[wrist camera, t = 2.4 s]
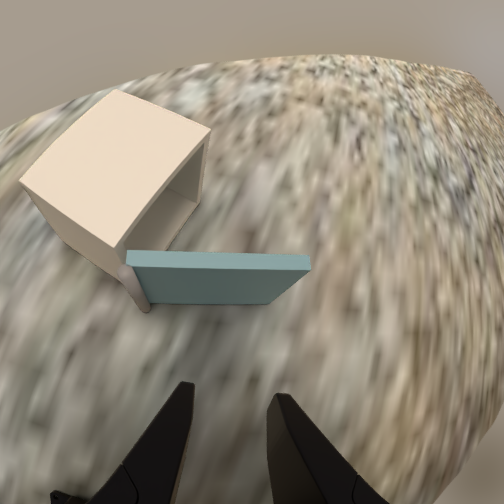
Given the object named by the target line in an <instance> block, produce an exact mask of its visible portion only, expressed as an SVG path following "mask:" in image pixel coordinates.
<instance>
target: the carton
mask: <svg viewBox="0 0 504 504" xmlns="http://www.w3.org/2000/svg"><path fill="white" fill-rule="evenodd" d="M210 133H211V129H209V128H207V127H205V126H203V125H200V124H198V123H196V122H194V121H192V120H189V119H187V118H185V117H183V116H180V115H178V114H176V113H174V112H171V111H169V110H167V109H164V108H162V107H160V106H157V105H155V104H152V103H150V102H147V101H145V100H142V99H140V98H137V97H135V96H132V95H130V94H127V93H124V92H122V91H119V90H116V89H114V90H113V91H112V92H110V93H109V94H108V95H106V96H105V97H104V98H103V99H101V100H100V101H99V102H98V103H97V104H95V105H94V106H93V107H92V108H91V109H89V110H88V111H87V112H86V113H85V114H84V115H82V116H81V117H80V118H79V119H78V120H77V121H76V122H75V123H74V124H72V125H71V126H70V127H69V128H68V129H67V130H66V131H65V132H64V133H63V134H62V135H61V136H60V137H59V138H58V139H57V140H56V141H55V142H54V143H53V144H52V145H51V146H50V147H49V148H48V149H47V150H46V151H45V152H44V153H43V154H42V155H41V156H40V157H39V158H38V159H37V160H36V162H35V163H34V164H33V165H32V166H31V167H30V168H29V169H28V170H27V172H26V173H25V174H24V175H23V176H22V177H21V179H20V180H19V181H20V183H21V184H22V186H23V187H24V189H25V190H26V192H27V193H28V195H29V196H30V198H31V199H32V201H33V202H34V203H35V205H36V206H37V208H38V209H39V211H40V212H41V213H42V215H43V216H44V217H45V219H46V220H47V221H48V223H49V224H50V225H51V227H52V228H53V229H54V231H55V232H56V233H57V235H58V236H59V237H60V238H61V240H62V241H64V242H65V243H66V244H68V245H69V246H70V247H72V248H73V249H74V250H76V251H77V252H78V253H80V254H81V255H83V256H84V257H85V258H87V259H88V260H90V261H91V262H92V263H94V264H95V265H97V266H98V267H99V268H101V269H102V270H104V271H105V272H107V273H108V274H110V275H111V276H113V277H114V278H116V279H117V280H119V281H120V279H119V277H118V276H117V270H118V268H119V267H120V266H121V265H123V264H126V257H127V250H148V251H166V250H167V248H168V247H169V245H170V244H171V243H172V241H173V240H174V238H175V237H176V235H177V234H178V232H179V231H180V230H181V228H182V227H183V225H184V224H185V222H186V221H187V220H188V218H189V217H190V215H191V214H192V213H193V211H194V210H195V208H196V207H197V206H198V204H199V203H200V198H201V191H202V184H203V177H204V170H205V164H206V157H207V151H208V145H209V139H210ZM120 282H121V281H120Z"/></svg>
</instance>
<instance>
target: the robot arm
mask: <svg viewBox="0 0 504 504" xmlns="http://www.w3.org/2000/svg"><path fill="white" fill-rule="evenodd" d="M194 395H195V384H194V383H190V382H184V381H182V382H180V383H179V384H178V386H177V387H176V388H175V390H174V391H173V393H172V394H171V395H170V397H169V398H168V400H167V401H166V402H165V404H164V405H163V407H162V408H161V409H160V411H159V412H158V414H157V415H156V416H155V418H154V419H153V420H152V422H151V423H150V425H149V426H148V427H147V429H146V430H145V431H144V433H143V434H142V436H141V437H140V438H139V440H138V441H137V442H136V444H135V445H134V446H133V448H132V449H131V451H130V452H129V453H128V455H127V456H126V457H125V459H124V460H123V461H122V464H120V465H119V467H118V468H117V469H116V471H115V472H114V473H113V475H112V476H111V477H110V478H109V479H108V481H107V482H106V483H105V484H104V486H103V487H102V488H101V489H100V490H99V491H98V492H97V493H96V494H95V495H94V496H93V497H92V498H91V499H90V500H89V501H85V500H83V499H80V498H77V497H74V496H72V497H71V496H69V495H66V494H63V493H61V492H58V491H53V492H51V493H50V499H51V504H175V500H176V496H177V491H178V487H179V483H180V479H181V474H182V470H183V466H184V462H185V457H186V452H187V447H188V441H189V436H190V431H191V425H192V420H193V410H194ZM267 461H268V468H269V475H270V482H271V488H272V495H273V502H274V504H389V503H388V502H387V501H386V500H385V499H383V498H382V497H381V496H380V495H379V494H378V493H377V492H376V491H375V490H374V489H373V488H372V487H371V486H370V485H369V484H368V483H367V482H366V481H365V480H364V479H363V478H362V477H361V476H360V475H357V474H358V473H357V472H356V471H355V470H354V469H353V467H352V466H351V465H350V464H349V463H348V462H347V461H346V460H345V459H344V457H343V456H342V455H341V454H340V453H339V452H338V451H337V450H336V448H335V447H334V446H333V445H332V444H331V443H330V442H329V440H328V439H327V438H326V437H325V436H324V435H323V433H322V432H321V431H320V430H319V429H318V428H317V426H316V425H315V424H314V423H313V422H312V421H311V419H310V418H309V417H308V416H307V415H306V413H305V412H304V411H303V410H302V409H301V407H300V406H299V405H298V404H297V403H296V401H295V400H294V399H293V398H292V396H291V395H289V394H287V393H276V394H275V395H274V396H273V399H272V401H271V403H270V405H269V407H268V410H267ZM55 495H57V496H58V498H57V497H56V496H55Z"/></svg>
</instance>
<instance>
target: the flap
mask: <svg viewBox="0 0 504 504" xmlns="http://www.w3.org/2000/svg"><path fill="white" fill-rule="evenodd" d="M310 270H311V266H310V258H309V255H286V254H250V253H216V252H181V251H148V250H127V257H126V264H123V265H121V266H120V267H119V268H118V270H117V276H118V277H119V279H120V281H121V282H122V284H123V285H124V287H125V288H126V290H127V291H128V292H129V294H130V295H131V297H132V298H133V300H134V301H135V303H136V304H137V305H138V307H139V308H140V310H141V311H142V312H144V313H147V312H149V311H150V309H151V305H150V303H166V304H269V303H271V302H272V301H273V300H274V299H276V298H277V297H278V296H280V295H281V294H282V293H283V292H285V291H286V290H287V289H288V288H289V287H291V286H292V285H293V284H294V283H296V282H297V281H298V280H299V279H301V278H302V277H303V276H304V275H306V274H307V273H308V272H309V271H310Z"/></svg>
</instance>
